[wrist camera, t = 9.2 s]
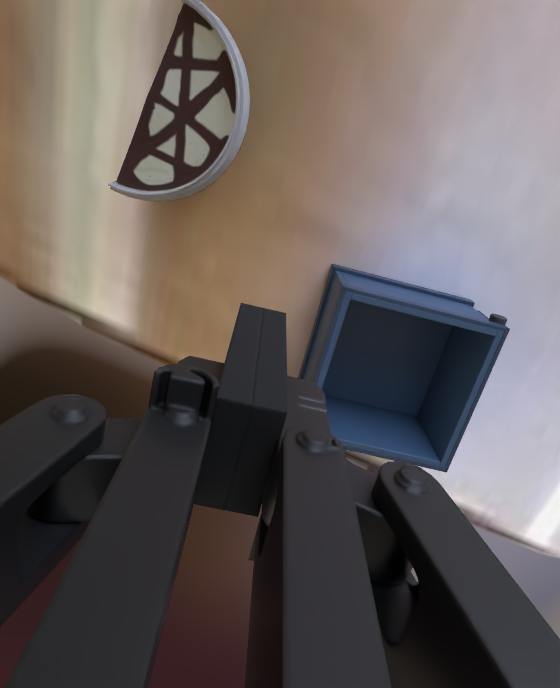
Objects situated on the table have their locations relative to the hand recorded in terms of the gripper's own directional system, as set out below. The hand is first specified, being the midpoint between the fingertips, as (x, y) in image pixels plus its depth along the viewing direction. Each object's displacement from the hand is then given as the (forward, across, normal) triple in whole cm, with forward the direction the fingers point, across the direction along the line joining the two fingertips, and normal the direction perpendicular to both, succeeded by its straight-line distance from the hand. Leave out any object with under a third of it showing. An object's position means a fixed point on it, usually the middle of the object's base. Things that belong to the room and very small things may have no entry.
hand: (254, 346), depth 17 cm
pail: (+23, +6, -8) cm, 25 cm away
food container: (+27, -6, +6) cm, 28 cm away
